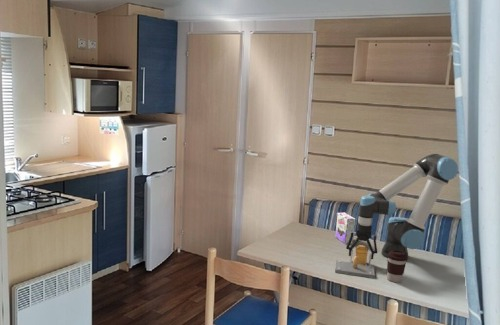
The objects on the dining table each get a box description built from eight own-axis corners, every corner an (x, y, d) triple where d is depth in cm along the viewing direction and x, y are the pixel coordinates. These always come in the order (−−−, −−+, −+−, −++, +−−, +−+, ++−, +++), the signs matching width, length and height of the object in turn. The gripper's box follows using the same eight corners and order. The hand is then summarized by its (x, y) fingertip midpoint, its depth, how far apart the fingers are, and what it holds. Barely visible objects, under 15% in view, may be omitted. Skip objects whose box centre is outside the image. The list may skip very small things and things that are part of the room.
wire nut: (365, 262, 272) (368, 245, 270) (366, 266, 266) (368, 249, 264) (354, 260, 273) (356, 244, 271) (354, 264, 267) (356, 247, 265)
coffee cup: (389, 274, 256) (392, 247, 254) (407, 280, 250) (411, 252, 248) (381, 279, 249) (384, 251, 246) (399, 285, 243) (403, 257, 240)
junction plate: (373, 268, 263) (375, 255, 262) (374, 278, 250) (376, 264, 248) (336, 263, 267) (337, 249, 266) (334, 272, 254) (336, 258, 252)
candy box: (334, 236, 314) (337, 212, 311) (342, 236, 315) (345, 212, 313) (344, 244, 301) (347, 218, 298) (353, 243, 302) (356, 218, 300)
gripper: (385, 225, 267) (380, 263, 271) (344, 219, 271) (340, 257, 275) (386, 228, 260) (380, 268, 264) (344, 223, 264) (339, 262, 268)
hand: (360, 263), depth 269 cm, fingers open, 9 cm apart
